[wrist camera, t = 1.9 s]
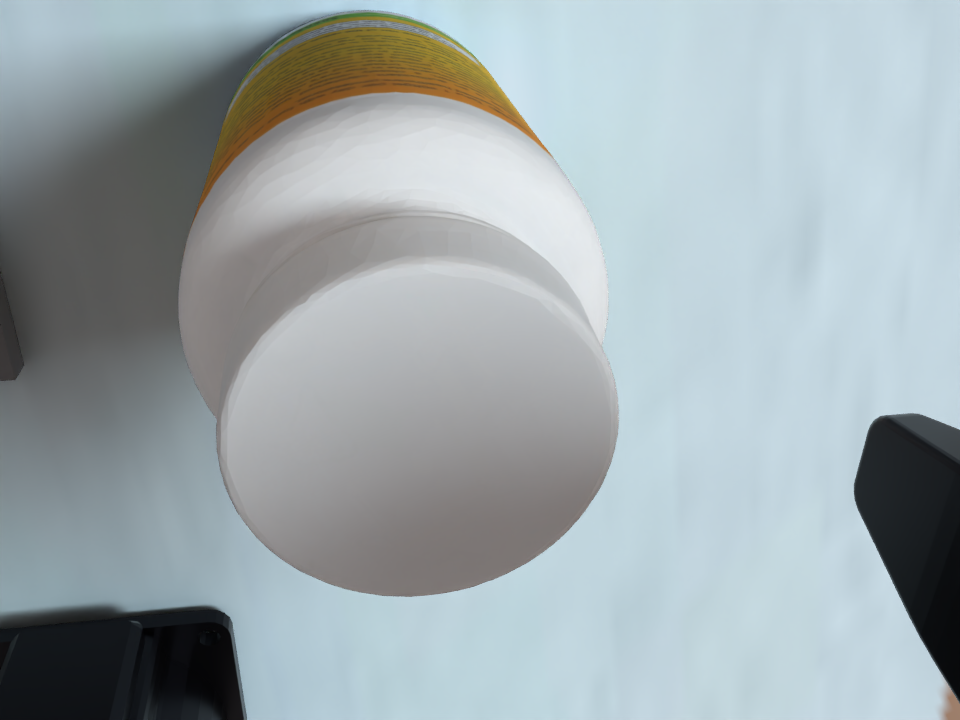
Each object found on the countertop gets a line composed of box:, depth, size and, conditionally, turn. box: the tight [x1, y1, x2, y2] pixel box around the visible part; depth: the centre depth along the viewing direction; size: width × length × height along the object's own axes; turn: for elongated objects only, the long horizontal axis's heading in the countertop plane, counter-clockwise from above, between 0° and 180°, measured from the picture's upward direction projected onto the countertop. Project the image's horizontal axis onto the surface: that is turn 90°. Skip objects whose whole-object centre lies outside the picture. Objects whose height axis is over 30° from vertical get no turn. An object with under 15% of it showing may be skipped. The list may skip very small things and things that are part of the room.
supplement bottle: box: [178, 10, 619, 597], centre depth 13 cm, size 5×5×10 cm
